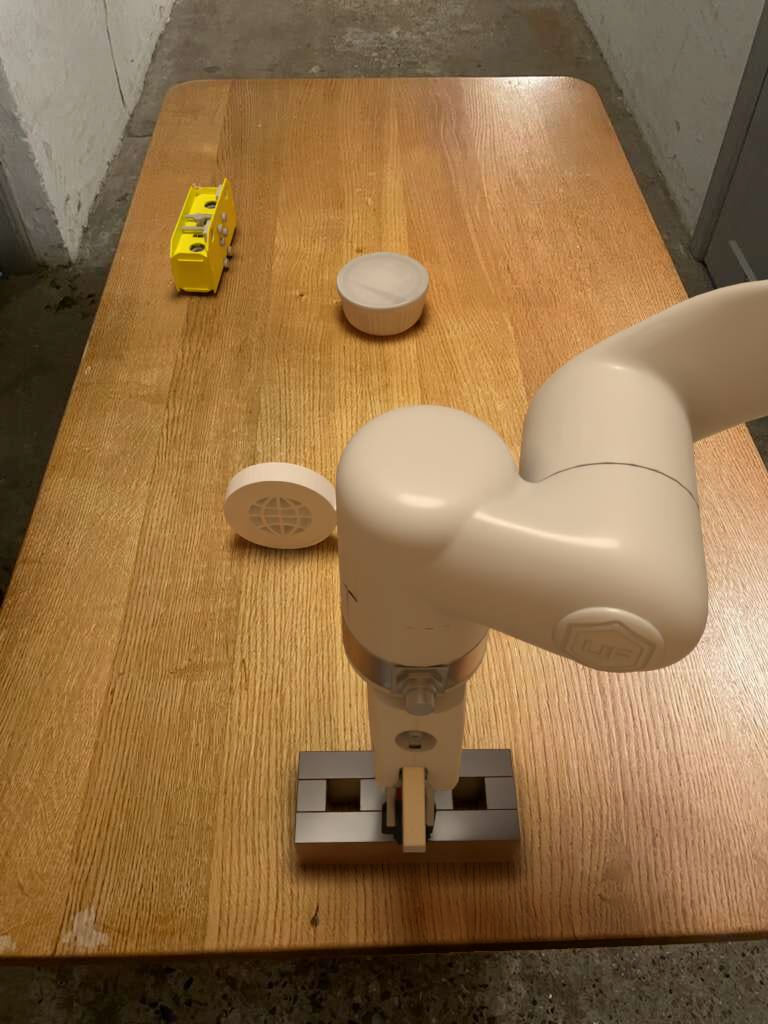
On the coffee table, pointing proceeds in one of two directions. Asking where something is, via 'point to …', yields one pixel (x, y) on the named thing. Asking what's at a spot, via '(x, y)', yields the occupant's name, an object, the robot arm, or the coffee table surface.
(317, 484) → the contact lens case
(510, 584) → the robot arm
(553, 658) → the coffee table surface
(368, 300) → the ramekin
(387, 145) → the coffee table surface
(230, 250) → the yellow toy chassis
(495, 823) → the holder
